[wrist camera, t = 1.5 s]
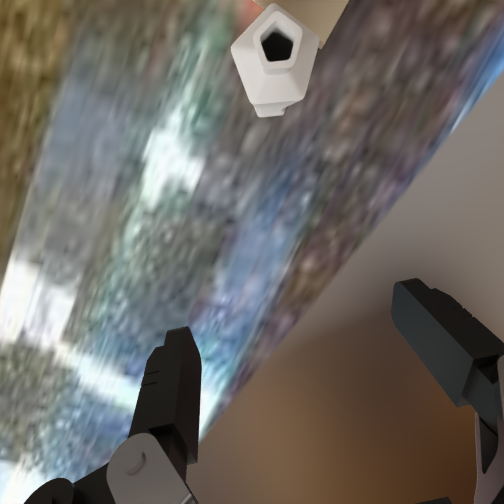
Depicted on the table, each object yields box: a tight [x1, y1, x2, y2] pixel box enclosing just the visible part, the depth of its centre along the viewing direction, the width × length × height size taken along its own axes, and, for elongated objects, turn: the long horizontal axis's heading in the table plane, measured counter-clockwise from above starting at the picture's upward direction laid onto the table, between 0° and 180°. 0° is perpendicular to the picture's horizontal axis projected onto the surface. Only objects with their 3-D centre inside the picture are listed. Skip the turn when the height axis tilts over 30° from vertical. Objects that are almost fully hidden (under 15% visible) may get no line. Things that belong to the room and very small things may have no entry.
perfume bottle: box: [231, 3, 319, 117], centre depth 19 cm, size 5×4×15 cm
